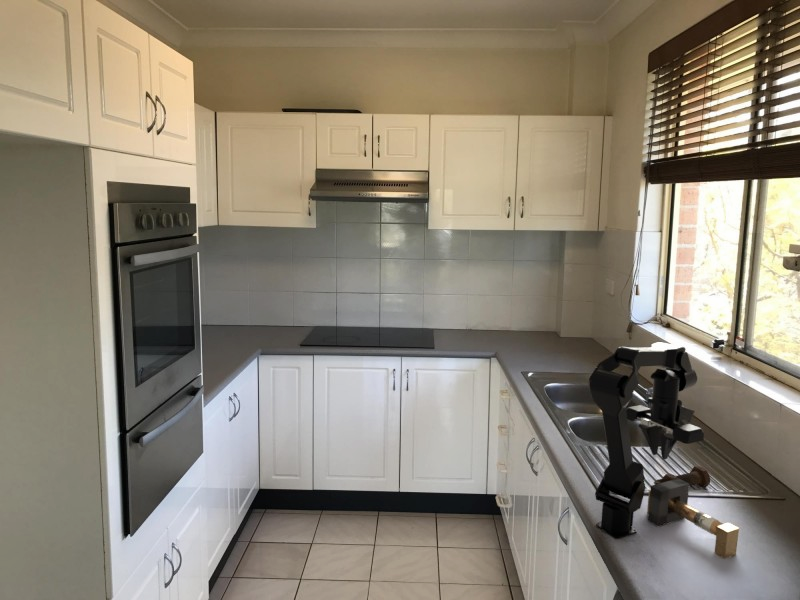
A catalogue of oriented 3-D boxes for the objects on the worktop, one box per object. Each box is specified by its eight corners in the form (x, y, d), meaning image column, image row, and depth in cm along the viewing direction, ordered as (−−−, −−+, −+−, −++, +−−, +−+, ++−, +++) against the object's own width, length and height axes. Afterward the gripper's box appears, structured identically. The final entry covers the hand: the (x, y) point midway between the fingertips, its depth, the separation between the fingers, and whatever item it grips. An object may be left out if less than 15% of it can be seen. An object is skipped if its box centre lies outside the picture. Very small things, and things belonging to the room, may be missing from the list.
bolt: (654, 498, 156) (699, 488, 161) (667, 497, 152) (713, 487, 157) (647, 475, 158) (692, 466, 163) (659, 473, 154) (705, 464, 159)
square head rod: (735, 554, 128) (739, 527, 127) (724, 558, 127) (727, 531, 126) (657, 510, 146) (659, 486, 145) (646, 513, 145) (649, 489, 144)
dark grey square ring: (685, 517, 143) (689, 483, 141) (658, 526, 139) (661, 491, 137) (675, 512, 145) (678, 478, 144) (647, 520, 141) (650, 485, 140)
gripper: (723, 402, 140) (716, 466, 142) (657, 380, 156) (652, 438, 159) (689, 409, 135) (683, 474, 138) (625, 386, 152) (621, 445, 154)
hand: (659, 456), depth 147 cm, fingers open, 3 cm apart
